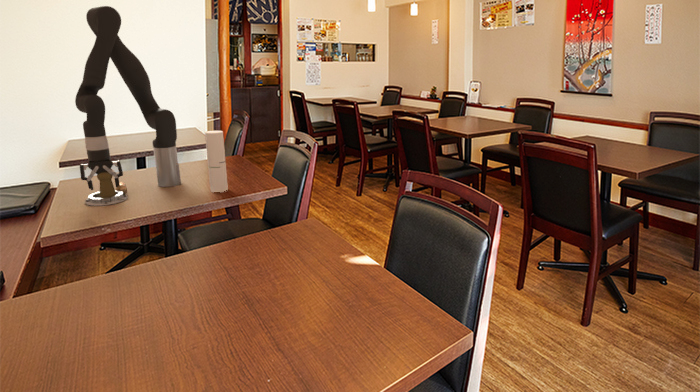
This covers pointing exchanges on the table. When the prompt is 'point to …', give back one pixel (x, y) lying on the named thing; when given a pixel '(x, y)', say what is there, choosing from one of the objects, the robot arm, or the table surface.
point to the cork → (106, 185)
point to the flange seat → (105, 199)
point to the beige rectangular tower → (216, 161)
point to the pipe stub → (122, 187)
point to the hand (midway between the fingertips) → (104, 188)
